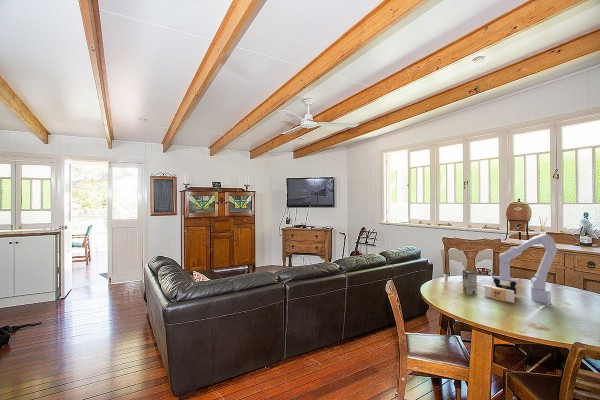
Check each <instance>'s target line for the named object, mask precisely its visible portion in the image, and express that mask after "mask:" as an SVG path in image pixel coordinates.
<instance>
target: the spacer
mask: <svg viewBox="0 0 600 400" xmlns="http://www.w3.org/2000/svg"><path fill="white" fill-rule="evenodd" d="M493 287H494V286H493ZM493 287H492V288H491V295H492V298H491V300H492V299H493V300H495V301H496V300H497V301H502V302H506V301H505V290H503V289H498V288H493ZM495 291H498V292H501V293H500V294H501V297H497V296H495Z"/></svg>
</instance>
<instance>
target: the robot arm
mask: <svg viewBox="0 0 600 400" xmlns="http://www.w3.org/2000/svg"><path fill="white" fill-rule="evenodd" d="M534 245H536V246H537V245H538V246H539V245H542V246H543V247H544V249H545V252H544V254H543V257H542V259H541V261H540V264H539V266H538V269H537V271H536V273H534V276H533V277H531V278H530V284H532V285H531V286H530V297H531V301H534V302H537V303H543V304H542V306H546V307H548V306H549V305H551V304H552V299H551V298H552V297H551V296H552V293H551V291H550V290H548V289H546V287H547V275H548V273H549V271H550V269H551V266H552V263H553V262H554V259H555V257H556V254H557V252H558V248H557V245H556V242H555V239H554V238H553V236H551V235H549V234H546V233H539V234H538V235H534V236H533V237H531V238H529V239H528V240H525V242H523V243H522V244H520V245H518V246H511V247H510V248H509V249H507V250H505V251H503V252H502V253H500V254H499V255H498V259H499V275H492V276H491V279H492V280H493V283H494V284H495V287H498V288H500V284H501V281H505V282H509V286H510V287H511V290H513V291H514V288H515V287H517V286H516V285H517V284H519V279H517V278H516V279H515V278H511V265H510V261H511V260H513V259H514V258H517V257H518V256H521V255H522V253H523V251H525V250H527V249H529V248H530V247H532V246H534Z"/></svg>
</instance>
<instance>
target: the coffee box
mask: <svg viewBox="0 0 600 400" xmlns="http://www.w3.org/2000/svg"><path fill="white" fill-rule="evenodd" d="M477 279H478V277H477V272H475V271H473V270H470V269H467V270H465V269H463V270H462V293H464V294H465V293H466V294H467V295H478V293H477V291H478V289H477V288H478V287H477V286H478V285H477V283H478V282H477V281H478V280H477Z"/></svg>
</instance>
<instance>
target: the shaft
mask: <svg viewBox="0 0 600 400" xmlns="http://www.w3.org/2000/svg"><path fill="white" fill-rule="evenodd" d="M500 288H503V289H508V290H511V287H510V285H507V284H501V283H500ZM517 288H518V287H517V286H515V288H514V295H517V293H518V289H517ZM495 294H496V295H498V294H501V292H498V291H497V292H495Z"/></svg>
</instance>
